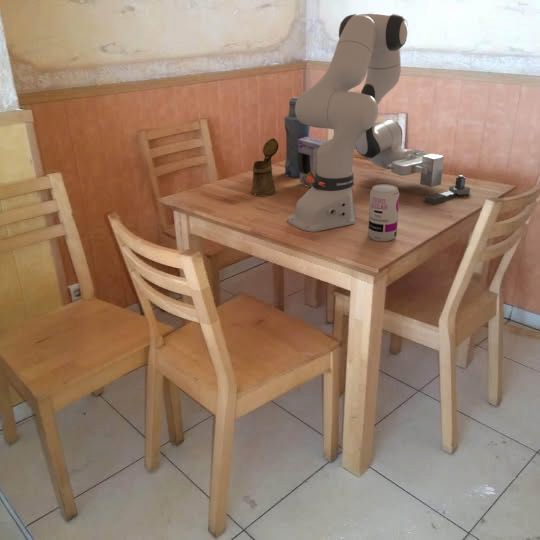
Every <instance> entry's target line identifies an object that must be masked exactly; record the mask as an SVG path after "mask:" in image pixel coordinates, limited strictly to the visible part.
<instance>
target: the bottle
mask: <svg viewBox="0 0 540 540" xmlns="http://www.w3.org/2000/svg"><path fill="white" fill-rule="evenodd" d="M298 97H299V96H292V97H291V99H289V104H288V105H289V108H288V115H285V116H284V129H285V133H286V135H285V137H286V138H285V139H286V141H285V143H286V144H285V147H286V148H285V149H286V151H285V153H286V155H285V157H286V159H285V163H284V172H285V176H287V175H288V176H287V177H289V176H292V177H291V178H300V170H299V166H298V154H299V150H298V139H301V138H304V137H310V136H309V134H310V127H311V126H308V125H305V124H302V123H300V122H299V120H298V118H297V116H296V112H295V105H296V102H297V99H298Z"/></svg>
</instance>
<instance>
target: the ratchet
mask: <svg viewBox="0 0 540 540" xmlns="http://www.w3.org/2000/svg"><path fill="white" fill-rule="evenodd" d="M470 193H471V187H469V186H466V177H465V175H463V174H459V175H457V176H456V177H455V185H451V186H449V187H448V190H446V191H444V192H441V193H440V192H439V193H438V192H436V193H431V194H429V195H426V196H424V203H427V204H430V205H432V206H433V205H437V204H439V203H443V202H445V201H447V200H451V199H454V198H456V196H457V198H465V197H464V196H466V197H469V196H470V195H471V194H470ZM469 194H470V195H469ZM468 195H469V196H468Z"/></svg>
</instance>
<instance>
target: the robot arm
mask: <svg viewBox="0 0 540 540" xmlns="http://www.w3.org/2000/svg"><path fill="white" fill-rule="evenodd" d="M408 34H409V27H408V21H407V20H406V18H405V17H404V16H403V15H401V14H399V13H398V14H397V13H392V14H389V13H375V12H369V13H368V12H367V13H361V14H356V13H354V14H350V15H349V14H348V15H347V16H345V17H344V18H343V19H342V20H341V22H340V25H339V28H338V37H339V39H338V41H337V44H336V47H335V50H334V52H333V56H332V59H331V62H330V63H329V66H328V69H327V70H326V72H325V73H324V75H323V76H322V77H321V78H320V79H319V80H318V82H316V84H314V85H313V86H312V87H310V88H309V89H307V90H304V91H303V92H301V93H300V94H299V96H297V97H298V99H297V102H296V105H295V112H296V116H297V118H298V120H299V122H300V123H302V124H305V125H308V126H310V127H312V128H315V129H316V128H317V129H329V130H333V136H332V138H331V139H329V140H326V141H325V143H323V144H322V145H321V146H320V147H319V148H318V151H317V173H316V175H315V177H314V178H313V177H310V176H308V177H307V178H306V180H307V182H308V183H311V184H312V183H313V184H312V187H311V188H310V187H309V189H308V190H307V191H306V192H305V194H303V195H302V196H301V198H299V199H298V200H297V202H296V204H295V209H294V214H291V215H289V216H287V222H288V224H290V225H291V226H293V227H295V228H298V229H300V230H303V231H306V232H312V233H313V232H314V233H315V232H320V231H326V230H330V229H336V228H340V227H346V226H350V225H354V224H355V223H356V220H355V219H356V218H357V214H356V210H355V206H354V205H355V204H354V197H353V196H354V195H353V186H354V182H355V181H354V172H353V166H354V165H353V164H354V153H355V150H356V152H357V153H358V155H360V156H361V157H363V158H366V159H368V160H369V162H371V163H372V164H373V165H375V166H377V167H379V168H382V169H384V170H390V171H391V173H394V174H396V175H399V176H401V177H403V176H409V175H413V174H421V173H424V174H426V173H429V168H427V167H422V158H423V156H425V155H429V154H433V153H430V152H427V151H426V152H425V150H424V149H409V148H403V147H402V145H403V129H402V127H401V125H400V124H399V123H398V122H397V121H395V120H393V119H386V120H384V121H382V122H380V123H378V124H376V121H377V119H378V117H379V116H378V115H379V107H378V106H379V104H380V103H381V101H382V100H383V98H384V97H385V96H386V95H387V94H389V93H390V92H391V90H393V89H394V88H395V86H396V85H397V84H398V83H399V79H400V76H401V71H402V70H401V69H402V68H401V67H402V65H401V62H402V61H401V49H402V48H403V46H404V45H405V44H406V42H407V38H408ZM364 80H365V82H364ZM363 82H364V85H363V87H362V89H361V92H357V91H350V90H352V89H354V88H356V87H358V86H360V85H361V84H362V83H363Z"/></svg>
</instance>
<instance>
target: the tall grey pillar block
mask: <svg viewBox="0 0 540 540" xmlns="http://www.w3.org/2000/svg"><path fill="white" fill-rule="evenodd" d="M444 159H445V156H443V155H440V154H435V153H432V154H429V155H425V156H423V158H422V167H427V168H429V173H426V174H424V173H420V181H419V184H420V185H422V186H424V187H425V186H426V187H429V188H433V187H437V186H440V185H441V184H442V176H443V167H444Z"/></svg>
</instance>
